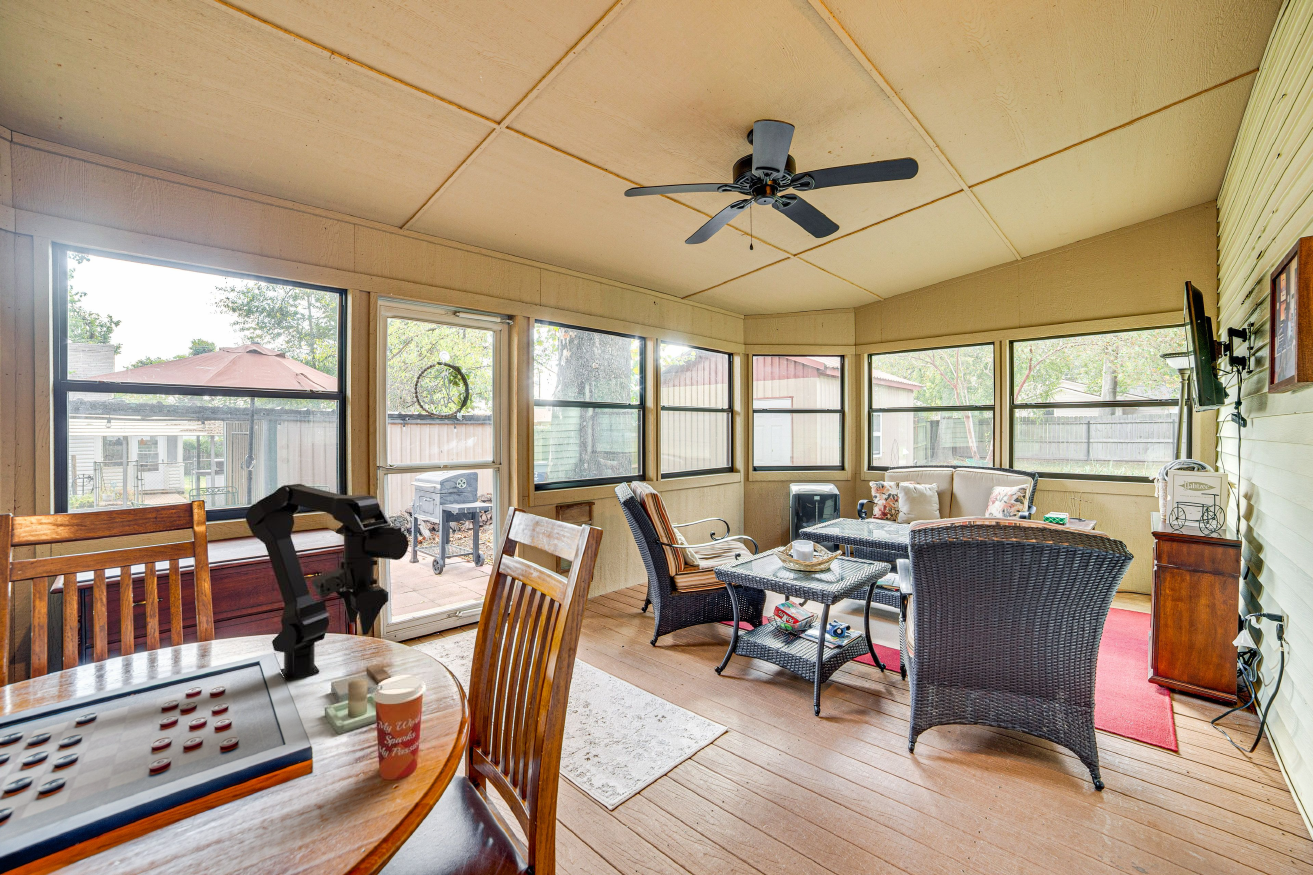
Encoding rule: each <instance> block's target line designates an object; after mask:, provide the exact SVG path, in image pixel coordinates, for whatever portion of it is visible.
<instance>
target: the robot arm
mask: <svg viewBox="0 0 1313 875" xmlns="http://www.w3.org/2000/svg"><path fill="white" fill-rule="evenodd" d="M301 508H306V509H310V510H314V511H318V512H321V513H325V514H328V515H331V516H332V518H333V519H334V520H335V521H337V522H339V523H340V524H342V525H340V527H338V528H336V530H335V533H336V534H337V535H343V559H341V560H340V561H339V565H338V566H339V567H338V568H336V569H333V570H330V571H328V572H326V573H324V574H322V575H319V576H317V577H316V578H314V579H312V580H311V584H312V587H313V589H314V592H315V594H316V595H317V597H318V598H320V600H316V599H315V598H314V597H313V596H312V595H311V593H310V590H309V589H310V588H309V586H308V583H307V580H306V578H305V577H306V576H305V575H304V572H303V569H302V565H301V563H300V560H299V557H298V554H297V552H296V548H295V544H294V542H293V538H292V532H293V530H294V526H295V518H294V515H295V514H296V513H298V512H299V511H300V510H301ZM245 521H246V523H247V525H248V527H249V530H250V532H251V534H252V535H253V537H255V538H256V539H258V540H259V541H261V543H263V544H264V546H265V548H266V552H267V555H268V557H269V560H270V563H271V568H272V570H273V573H274V577H275V580H276V582H277V585H278V588H279V591H280V594H281V597H282V600H283V603H284V608H283V612H282V615H281V619H280V623H281V628H282V629H281V630H280V632H279V633H278V634H277V635H276V636H275V637H274V639H272V641H271V644H272V647H273V650H274V652H280V653H283V668H280V669H279V670H281V672H282V674H283V676H284V679H285V680H286V681H285V680H284V679H283V680H284V681H285V682H288V681H293V680H297V679H300V678H301V679H302V678H305V677H308V676H313V675H316V674H319V673H320V669H319V667H318V666H317V665H316V664H315V657H316V656H315V652H316V651H315V648H316V646H315V644H316V643H317V642H320V641H323V640H324V639H325V636H326V632H327V630H328V628H329V626H330V617H331V614H330V613H329V612H328V609H327V605H326V602H325V600H324V599H325V598H328V597H330V596H331V595H332V594H334V593H335V594H336V595H337V596H339V597H340V598H341V599H342V602H343V604H344V609H345V612H346V616H347V619H348V623H349V624H354V623H356V620H357V618H358V619H359V625H360V626H359V627H360V630H361V634H362V636H366V635H369V634H370V631H371V629H372V627H373V626H374V623H375V621H376V620H377V617H378V616H379V614H380V612H381V610H382V608H383V607H384V606H385V605H386V603H388V602H389V591H387V590H386V589H385V588H383V587H382V586H380V585H377V584H378V579H377V578H376V577H375V566H377V565H378V560H377V559H382V560H383V559H385V560H394V561H399V560H401V559H402V558H403V557H404V556H405V555H406V554H407V551H408V548H409V545H410V544H409V540H408V537H407V535H406V534H405V533H404V532H402V526H401V525H400V526H399V525H395V526H391V522H390V520H389V518H388V517H387V515H386V513H385V512H384V510H383V508H382V507H381V505H380V503H379V500H378V498H377V497H376V496H374V495H372V494H348V495H346V494H339V493H335V492H332V491H328V490H323V489H319V488H315V487H311V486H307V485H305V484H303V483H293V484H284V485H281V486H280V487H278V488H277V489H276V490H275V491H274V492H272V493H270V494H269V495H267V496H265V497H263V498H262V499H260V500H258V501H257V502H256V503H253V504H251V505H250V507H249V508H248V510H247V511H246V513H245Z"/></svg>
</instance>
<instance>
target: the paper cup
mask: <svg viewBox="0 0 1313 875" xmlns="http://www.w3.org/2000/svg"><path fill="white" fill-rule="evenodd" d="M426 690H427V686H426V684H425V682H424V680H422V679H421V677H419V676H416V675H413V674H401V675H395V676H391V678H388V679H386V680H384V681H382V682H381V683H379V684H378V686H377V689H376V691H375V693H374V695H373V699H374V700H375V703H376V722H375V723H376V735H377V736H376V738H377V754H378V755H377V756H378V757H377V758H378V770H379V775H380V777H381V778H382V779H383V780H387V781H396V780H402V779H405V778H407V777H408V776H410V775H412V774H413V773H414V772H415V771H416V770H417V769H418V763H419V751H420V750H419V749H420V740H421V738H420V737H421V726H422V714H423V713H422V712H423V711H422V710H423V697H424V693H425V691H426Z"/></svg>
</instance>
